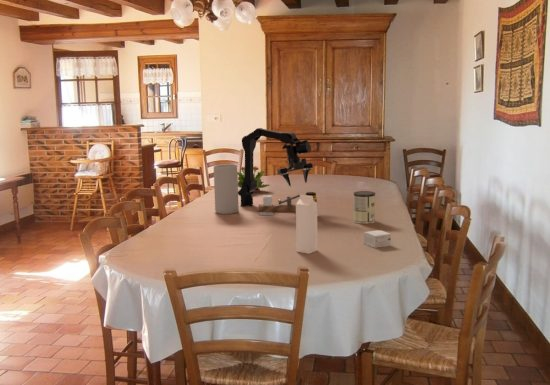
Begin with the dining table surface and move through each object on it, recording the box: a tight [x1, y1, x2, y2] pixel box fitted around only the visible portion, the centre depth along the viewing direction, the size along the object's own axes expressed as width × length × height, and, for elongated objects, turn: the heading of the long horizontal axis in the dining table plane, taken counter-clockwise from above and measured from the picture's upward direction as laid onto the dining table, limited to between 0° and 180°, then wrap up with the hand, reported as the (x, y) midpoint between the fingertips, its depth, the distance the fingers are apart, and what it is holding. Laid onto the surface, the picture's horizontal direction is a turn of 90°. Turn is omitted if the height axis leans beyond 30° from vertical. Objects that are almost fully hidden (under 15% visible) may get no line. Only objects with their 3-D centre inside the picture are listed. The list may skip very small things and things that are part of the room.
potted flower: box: [237, 165, 271, 193], centre depth 353 cm, size 25×24×18 cm
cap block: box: [262, 194, 273, 206], centre depth 288 cm, size 4×4×5 cm
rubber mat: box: [259, 212, 274, 217], centre depth 280 cm, size 7×7×1 cm
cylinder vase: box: [213, 163, 240, 215], centre depth 285 cm, size 12×12×25 cm
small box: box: [363, 229, 392, 249], centre depth 215 cm, size 8×8×5 cm
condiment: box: [305, 191, 320, 217], centre depth 272 cm, size 7×8×12 cm
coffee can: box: [353, 190, 376, 225], centre depth 257 cm, size 10×10×14 cm
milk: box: [295, 194, 318, 255], centre depth 206 cm, size 6×6×22 cm
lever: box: [277, 193, 301, 204], centre depth 288 cm, size 12×2×2 cm, turn 91°
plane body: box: [258, 196, 296, 213], centre depth 288 cm, size 20×6×7 cm, turn 92°
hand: (298, 184), depth 287 cm, fingers open, 9 cm apart
